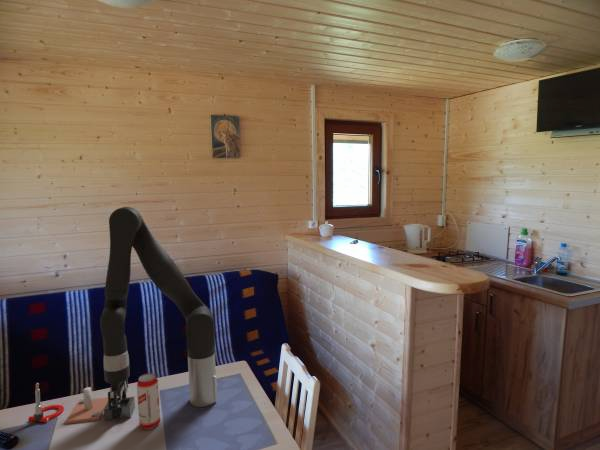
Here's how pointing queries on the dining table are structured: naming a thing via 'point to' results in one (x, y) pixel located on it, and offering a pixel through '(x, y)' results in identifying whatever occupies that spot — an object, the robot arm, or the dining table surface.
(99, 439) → the dining table surface
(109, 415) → the grey hollow block
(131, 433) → the dining table surface
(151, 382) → the beer can
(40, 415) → the tow hook
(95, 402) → the keeper plate
